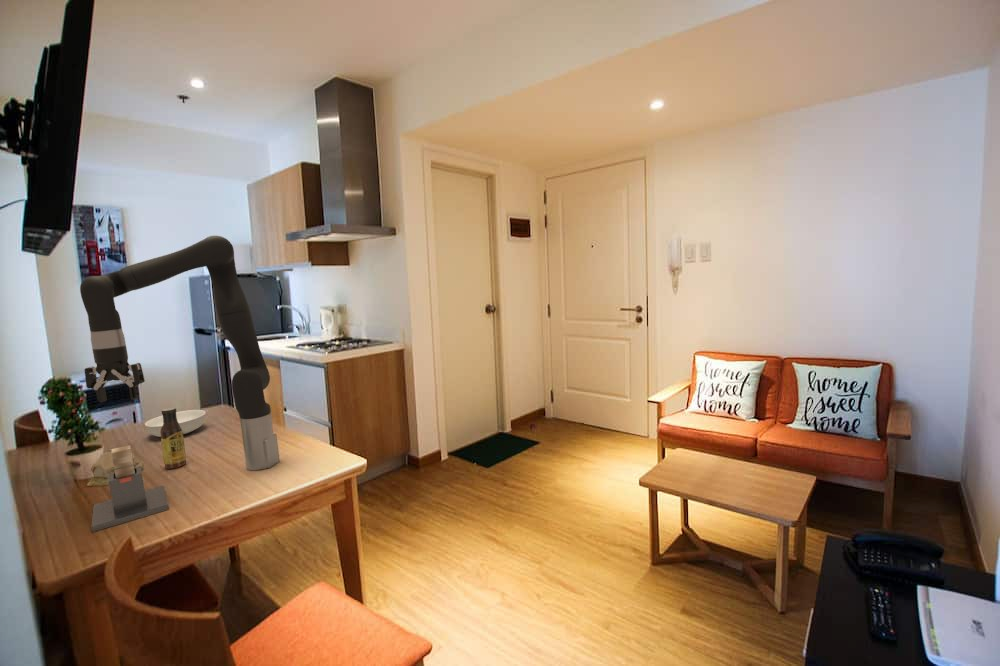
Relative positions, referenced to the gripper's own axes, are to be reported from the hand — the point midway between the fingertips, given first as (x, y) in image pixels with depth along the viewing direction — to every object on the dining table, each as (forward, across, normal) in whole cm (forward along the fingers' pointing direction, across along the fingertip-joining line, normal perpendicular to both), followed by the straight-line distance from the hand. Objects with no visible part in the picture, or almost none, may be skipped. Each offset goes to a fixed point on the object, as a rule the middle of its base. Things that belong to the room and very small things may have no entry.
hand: (118, 400), depth 138 cm
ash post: (+27, -7, +12) cm, 30 cm away
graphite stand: (+28, -6, +12) cm, 32 cm away
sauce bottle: (+28, -2, -18) cm, 34 cm away
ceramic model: (+29, +14, -14) cm, 35 cm away
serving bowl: (+28, +18, -56) cm, 66 cm away
